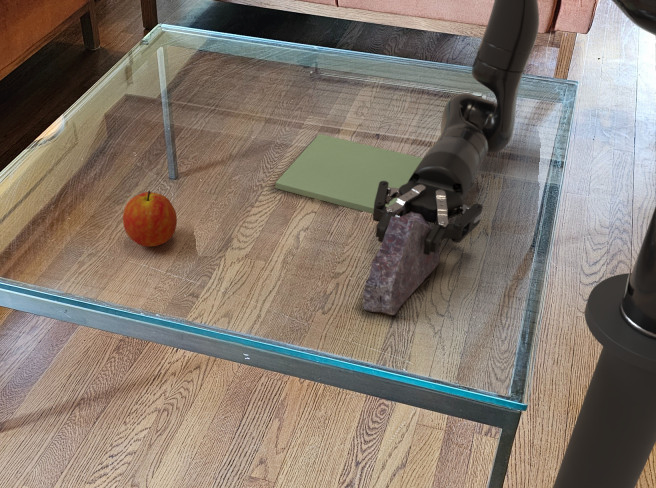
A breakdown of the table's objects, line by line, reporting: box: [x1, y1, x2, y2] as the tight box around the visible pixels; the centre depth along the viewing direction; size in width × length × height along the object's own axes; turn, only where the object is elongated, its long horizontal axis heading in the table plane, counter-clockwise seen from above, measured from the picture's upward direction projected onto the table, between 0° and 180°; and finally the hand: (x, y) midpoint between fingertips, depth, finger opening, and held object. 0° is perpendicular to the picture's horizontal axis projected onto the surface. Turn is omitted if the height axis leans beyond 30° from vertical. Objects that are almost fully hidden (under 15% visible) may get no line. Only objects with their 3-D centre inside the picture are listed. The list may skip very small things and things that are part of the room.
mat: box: [275, 133, 424, 215], centre depth 123 cm, size 20×16×1 cm
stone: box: [362, 211, 441, 316], centre depth 101 cm, size 10×6×15 cm
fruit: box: [122, 190, 178, 248], centre depth 109 cm, size 7×7×8 cm
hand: (404, 242), depth 101 cm, fingers closed on stone, 5 cm apart
